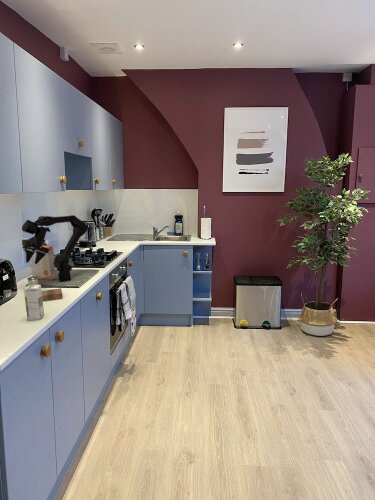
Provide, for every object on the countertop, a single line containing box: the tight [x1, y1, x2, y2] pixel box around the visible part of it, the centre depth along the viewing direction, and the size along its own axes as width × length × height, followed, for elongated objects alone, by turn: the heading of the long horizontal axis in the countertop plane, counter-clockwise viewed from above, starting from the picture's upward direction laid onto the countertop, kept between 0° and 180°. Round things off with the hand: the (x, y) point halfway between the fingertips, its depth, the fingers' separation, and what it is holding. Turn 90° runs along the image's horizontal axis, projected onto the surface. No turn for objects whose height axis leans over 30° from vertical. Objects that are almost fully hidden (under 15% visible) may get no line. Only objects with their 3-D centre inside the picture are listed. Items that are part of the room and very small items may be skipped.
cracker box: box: [29, 245, 57, 281], centre depth 237 cm, size 14×6×21 cm, turn 71°
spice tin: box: [27, 276, 39, 286], centre depth 206 cm, size 5×5×9 cm
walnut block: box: [41, 287, 63, 303], centre depth 198 cm, size 10×10×3 cm
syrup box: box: [23, 284, 45, 321], centre depth 168 cm, size 6×6×14 cm
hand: (31, 263), depth 214 cm, fingers open, 9 cm apart
